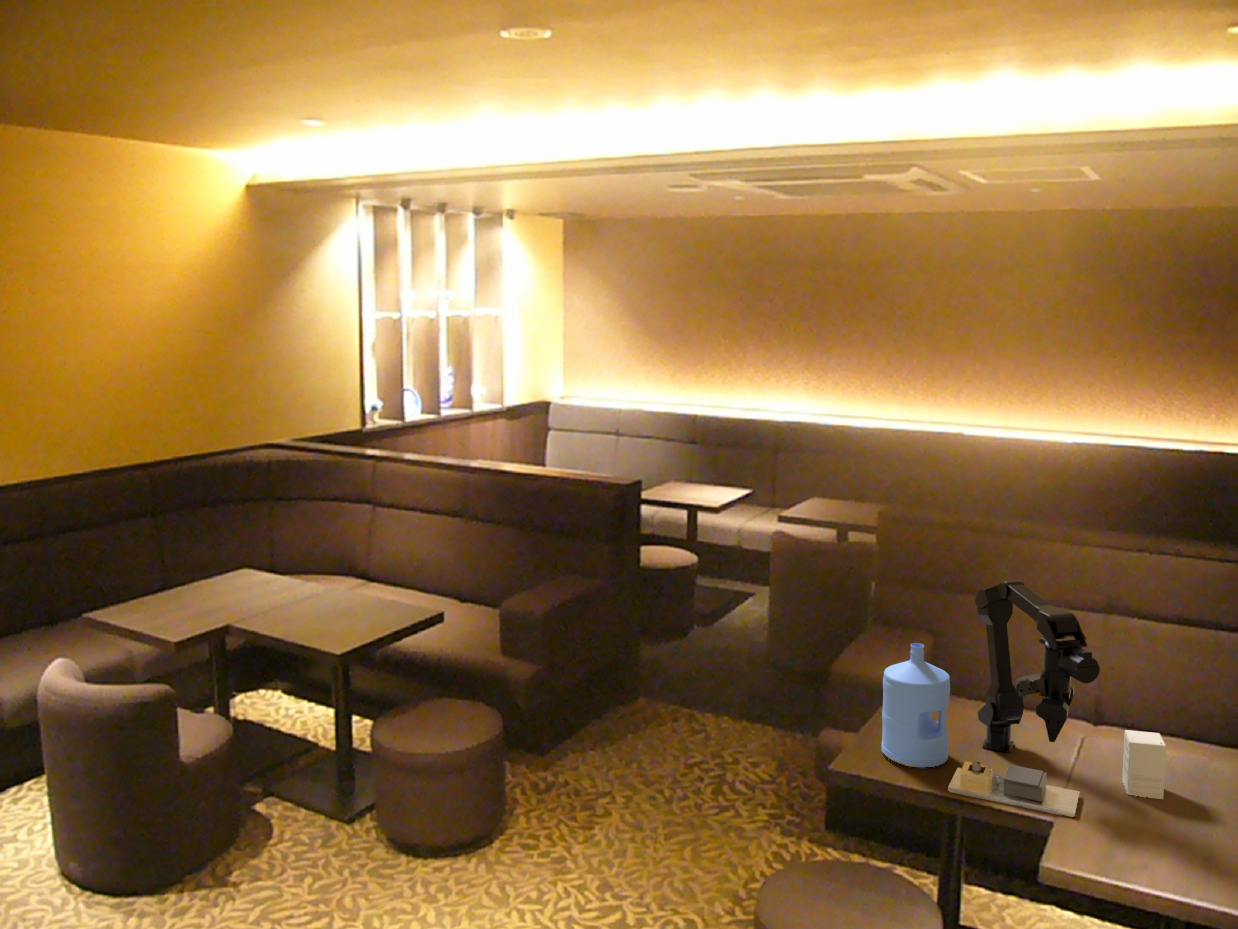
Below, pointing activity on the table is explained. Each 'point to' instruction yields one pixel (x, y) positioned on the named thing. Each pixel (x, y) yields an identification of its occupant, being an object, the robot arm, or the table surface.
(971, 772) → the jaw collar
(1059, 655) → the robot arm
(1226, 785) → the table surface
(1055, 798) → the pin plate
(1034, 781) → the box
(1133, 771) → the supplement box
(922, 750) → the water jug
